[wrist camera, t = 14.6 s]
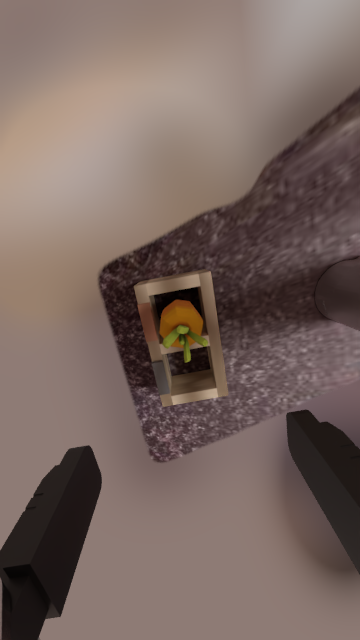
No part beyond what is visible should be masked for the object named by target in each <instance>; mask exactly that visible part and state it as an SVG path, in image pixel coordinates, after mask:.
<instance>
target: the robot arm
mask: <svg viewBox="0 0 360 640" xmlns="http://www.w3.org/2000/svg"><path fill="white" fill-rule="evenodd" d="M315 302H316V306H317V308H318V310H319V311H320V312H321V313H322V314H323V315H324V316H325V317H327V318H329V319H331V320H334V321H336V322H338V323H341V324H344V325H346V326H349V327H351V328H354V329H356V330H358V331H360V256H359V257H358V258H356V259H353V260H345V261H342V262H339V263H337V264H335V265H333V266H332V267H330V268H329V269H328V270H327V271H326V272H325V273H324V274H323V275H322V277H321V278H320V280H319V281H318V284H317V286H316V291H315ZM286 418H287V436H288V446H289V450H290V453H291V456H292V458H293V460H294V462H295V464H296V465H297V467H298V469H299V471H300V472H301V474H302V476H303V477H304V479H305V481H306V483H307V484H308V486H309V488H310V490H311V491H312V493H313V495H314V496H315V498H316V500H317V502H318V503H319V505H320V507H321V509H322V510H323V512H324V514H325V515H326V517H327V519H328V521H329V522H330V524H331V526H332V528H333V529H334V531H335V533H336V534H337V536H338V538H339V539H340V541H341V543H342V545H343V546H344V548H345V550H346V552H347V553H348V555H349V557H350V559H351V560H352V562H353V564H354V565H355V567H356V569H357V571H358V572H359V574H360V449H359V448H358V447H356V446H355V444H354V443H353V442H352V441H351V440H350V439H349V438H348V437H347V436H346V435H345V433H344V432H343V431H341V430H340V429H338V428H336V427H335V426H333V425H332V424H330V423H328V422H321V423H320V422H319V421H318V420H317V419H316V418H315V417H314V416H313V415H312V413H311V412H310V411H309V410H301V411H295V412H289V413H287V415H286ZM101 484H102V477H101V472H100V469H99V467H98V464H97V461H96V459H95V456H94V453H93V451H92V448H91V447H90V446H83V447H76V448H71V449H69V450H68V451H67V452H66V454H65V456H64V458H63V459H62V461H61V463H60V465H57V466H55V467H54V468H53V469H52V470H51V471H50V472H49V473H48V474H47V475H46V476H45V477H44V478H43V479H42V481H41V483H40V485H39V486H38V488H37V490H36V491H35V493H34V497H33V498H31V500H30V502H29V503H28V505H27V507H26V510H25V511H24V512H23V513H22V515H21V517H20V518H19V520H18V522H17V523H16V525H15V527H14V529H13V530H12V532H11V534H10V535H9V537H8V539H7V540H6V542H5V544H4V545H3V547H2V549H1V550H0V640H40V638H39V635H40V632H41V629H42V626H43V623H44V621H45V619H48V618H55V617H60V616H61V614H62V610H63V607H64V604H65V601H66V598H67V595H68V592H69V589H70V585H71V582H72V579H73V576H74V572H75V569H76V566H77V563H78V560H79V557H80V554H81V551H82V548H83V544H84V541H85V538H86V535H87V532H88V528H89V525H90V522H91V519H92V516H93V513H94V510H95V506H96V503H97V500H98V497H99V494H100V490H101Z"/></svg>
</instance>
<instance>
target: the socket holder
mask: <svg viewBox="0 0 360 640" xmlns="http://www.w3.org/2000/svg"><path fill="white" fill-rule="evenodd" d="M193 287H197V289H198V295H199V301H200V307H201V313H202V319H203V327H202V333H201V337H203V338H205V339H206V340H207V341H208V345H207V350H208V356H209V362H210V369H209V370H203V371H197V372H192V373H186V374H181V375H175V376H171V372H170V367H169V362H168V358H167V353H173V352H178V351H184V348H179V347H171V346H170V347H169V348H168V349H167V348H165V347H164V346H163V345H162V343H163V340H164V338H163V337H162V336H161V335H160V333H159V331H160V322H159V317H158V313H157V308H156V304H155V299H154V295H156V294H161V293H166V292H172V291H177V290H182V289H188V288H193ZM134 290H135V294H136V298H137V302H138V305H137V306H138V310H139V314H140V318H141V322H142V326H143V330H144V334H145V338H146V342H147V343H148V347H149V352H150V356H151V360H152V367H153V371H154V375H155V379H156V383H157V387H158V392H159V395H160V397H161V401H162V405H163V407H164V406H170V405H176V404H181V403H187V402H193V401H198V400H204V399H210V398H216V397H221V396H227V395H228V389H227V382H226V375H225V368H224V361H223V354H222V347H221V340H220V333H219V326H218V319H217V312H216V305H215V298H214V291H213V284H212V277H211V272H210V271H208V270H206V269H203V270H197V271H192V272H187V273H182V274H176V275H171V276H166V277H161V278H155V279H150V280H145V281H140V282H139V283H137V284H136V285H135V286H134ZM200 347H204V346H201V345H200V344H198V343H197V342H195V343H194V344H192V345H191V346H190V347H189V348H190V349H195V348H200Z"/></svg>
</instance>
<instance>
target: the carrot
mask: <svg viewBox="0 0 360 640" xmlns="http://www.w3.org/2000/svg"><path fill="white" fill-rule="evenodd" d="M202 327H203V319H202V317H201V316H200V314H199V313H198V312H197V310H196V309H195V308H194V306H193V305H192V304H191V302H190V301H185V300H177V299H176V300H174V301H173V302H172V303H171V304H169V305H168V306H167V307H165V308H164V310H163V312H162V315H161V322H160V331H159V333H160V335H161V336H162V337H163V338H164V340H163V343H162V345H163V346H164V347H165V348H167V349H168V348H169V347H170V346H171V347H179V348H184V360H185V363H187V362H189V361H190V360H191V355H190V348H189V347H190V346H191V345H192V344H194V343H195V342H197V343H198V344H200V345H201V346H204V347H206V346H207V345H208V341H207V340H206V339H205V338H203V337H201V333H202Z"/></svg>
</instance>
